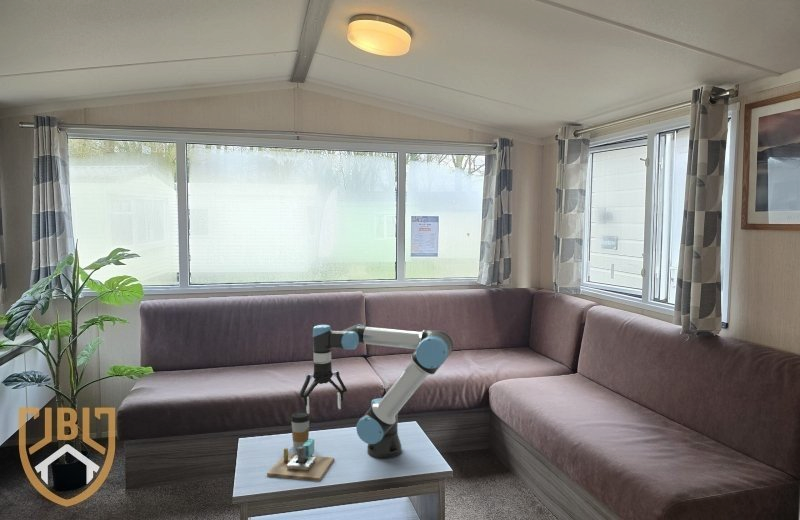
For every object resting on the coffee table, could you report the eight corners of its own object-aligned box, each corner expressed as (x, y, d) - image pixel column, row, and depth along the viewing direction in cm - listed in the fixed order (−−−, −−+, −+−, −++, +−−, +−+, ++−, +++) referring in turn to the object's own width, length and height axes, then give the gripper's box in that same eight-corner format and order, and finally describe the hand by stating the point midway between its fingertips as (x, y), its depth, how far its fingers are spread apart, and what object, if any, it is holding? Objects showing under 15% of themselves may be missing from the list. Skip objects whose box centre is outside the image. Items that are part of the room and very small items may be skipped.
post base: (334, 460, 215) (334, 440, 215) (319, 481, 197) (319, 459, 197) (285, 456, 219) (285, 437, 219) (267, 476, 201) (266, 455, 201)
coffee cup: (305, 451, 223) (305, 418, 223) (288, 450, 225) (287, 417, 224) (312, 444, 232) (312, 411, 231) (295, 442, 233) (295, 410, 232)
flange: (321, 453, 219) (321, 439, 218) (308, 470, 203) (308, 455, 203) (301, 451, 220) (301, 438, 220) (286, 468, 205) (286, 454, 204)
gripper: (348, 356, 224) (349, 403, 225) (291, 362, 215) (293, 411, 216) (353, 360, 217) (354, 409, 218) (294, 366, 208) (295, 417, 209)
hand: (323, 410), depth 217 cm, fingers open, 13 cm apart
